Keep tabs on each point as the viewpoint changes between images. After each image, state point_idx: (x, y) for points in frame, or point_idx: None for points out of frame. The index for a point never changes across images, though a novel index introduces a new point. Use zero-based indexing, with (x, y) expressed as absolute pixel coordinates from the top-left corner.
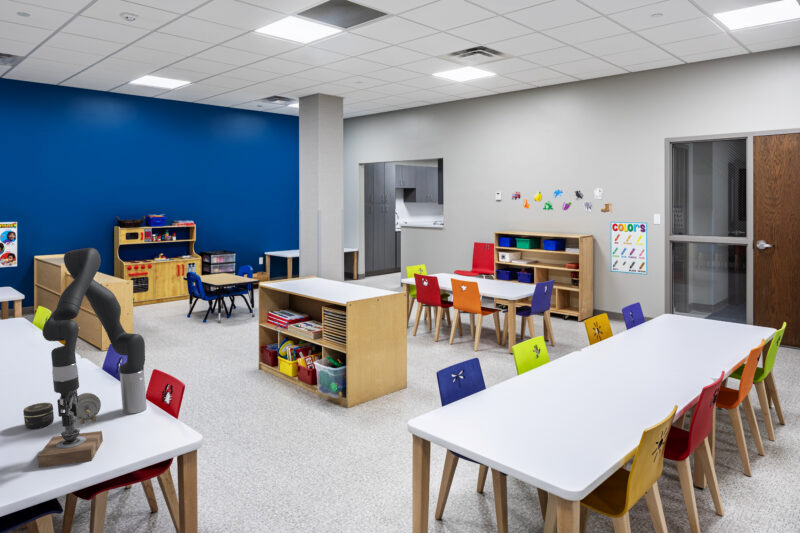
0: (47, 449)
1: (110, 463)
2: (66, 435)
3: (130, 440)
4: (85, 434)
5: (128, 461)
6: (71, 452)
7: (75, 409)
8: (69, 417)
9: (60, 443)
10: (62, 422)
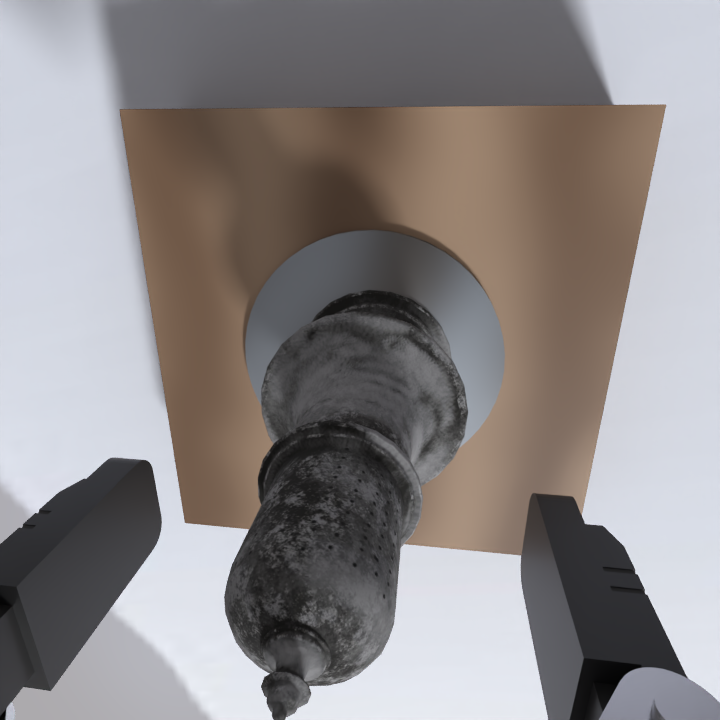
0: (269, 163)
1: (157, 563)
2: (263, 390)
3: (474, 641)
4: (546, 445)
5: (165, 634)
6: (167, 397)
7: (547, 688)
8: (77, 642)
9: (365, 268)
10: (69, 498)
